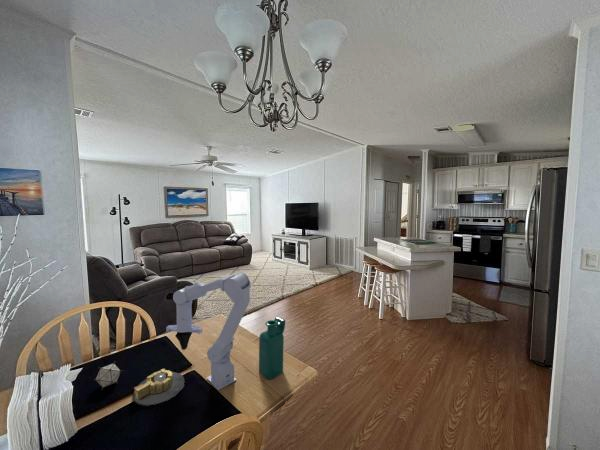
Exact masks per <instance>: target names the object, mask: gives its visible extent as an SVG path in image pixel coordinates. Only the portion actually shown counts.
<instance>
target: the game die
mask: <svg viewBox="0 0 600 450" xmlns="http://www.w3.org/2000/svg"><path fill="white" fill-rule="evenodd" d="M98 369H99V371H98V372H97V376H96V377H95V378H94V379H93V381H96V382H97V383H98V385H99V386H100V387H101V391H103V390H104V388H105V387H108V386H110V385H113V384H119V381H118V379H119V377H120V374H121V373H122V372H124V369H120V368H119V366H117V365H116V360H114V361H113V362H112V363H110V364H107V365H105V366H103V367H100V366H98Z"/></svg>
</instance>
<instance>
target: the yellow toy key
mask: <svg viewBox="0 0 600 450" xmlns="http://www.w3.org/2000/svg"><path fill="white" fill-rule="evenodd" d="M172 372H173V371H171V370H169V369H168V370H167V369H166V368H162V369H160V370H158V371H155V372H153V373H151V374H150V375H148V376H147V377H146V379H147V382H146V383H145V384H144V385H142V386H140V387H138V388H136V389H135V397H136V398H137V399H140V398H142V397H144V396H145V395H147V394H149V393H152V394H156V393H161V392H163V391H165V390H167V389H169V388H170V387H171V385H172V384H173V373H172ZM159 373H165V374H166V380H164V381H162V382H159V381H155V383H154V376H155V375H157V374H159Z"/></svg>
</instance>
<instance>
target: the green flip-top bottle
mask: <svg viewBox="0 0 600 450" xmlns="http://www.w3.org/2000/svg"><path fill="white" fill-rule="evenodd" d="M265 326H266V327H267V329H266V330H265V331H263V332H261V333H260V335H259V336H258V372H259V374H260V375H262V376H263V377H264V378H265V379H267V380H273V379H275V378H276V377H278V376H280V375H282V374H283V372H284V349H285V348H284V347H285V346H284V343H285V341H284V338H285V336H284V332H285V328H286V320H285V319H283V318H282V317H279V316H275V317H274V319H273V320H272V319H270V320H267V321H266V322H265Z"/></svg>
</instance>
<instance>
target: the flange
mask: <svg viewBox="0 0 600 450" xmlns="http://www.w3.org/2000/svg"><path fill="white" fill-rule="evenodd" d="M171 372H172V373H173V384H172V385H171V387H170V388H169V389H167V390H165V391H163V392H161V393H156V394H152V393H149V394H147V395H145V396H144V397H142V398H140V399H137V398H136V397H135V389H136V388H138V387H140V386H142V385H144V384H145V383H146V382H147V378H145V379H144V380H143V381H141V382H140V383H139V384H138V385H137V386H135V387H133V389H134V391H133V397H132V398H133V401H134V403H135V404H137V405H138V406H141V405H142V406H141V407H151V406H150V405H155V406H157V405H156V404H159V403H162V402H165V401H167V402H169V401H171V400H172V399H171V398H173V397H174V398H176V397H177V396H178V395H179V394H180V393H181V392H182V391H181V390H183V389H184V387H185V384H184V383H185V377H184V376H183V374H181V373H179V372H175V371H171ZM164 380H166V374H165V373H159V374H157V375H155V376H154V383H155V381H159V382H162V381H164ZM180 391H181V392H180ZM179 392H180V393H179ZM178 393H179V394H178ZM177 394H178V395H177ZM176 395H177V396H176ZM174 398H173V399H174ZM170 399H171V400H170ZM168 400H169V401H168ZM165 403H166V402H165ZM162 404H163V403H162ZM159 405H160V404H159Z"/></svg>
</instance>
